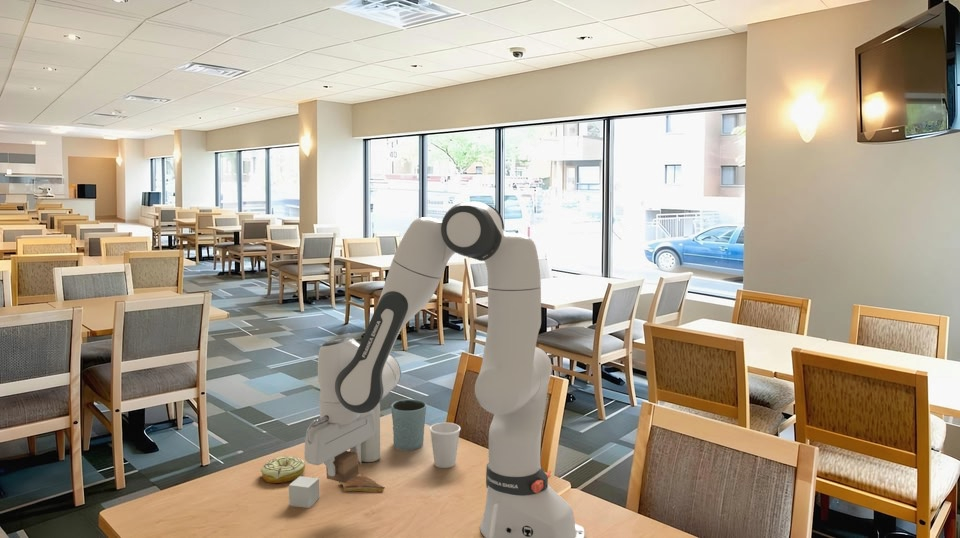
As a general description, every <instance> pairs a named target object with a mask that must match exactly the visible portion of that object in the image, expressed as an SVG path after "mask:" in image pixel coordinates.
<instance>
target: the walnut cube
mask: <svg viewBox="0 0 960 538" xmlns="http://www.w3.org/2000/svg"><path fill="white" fill-rule="evenodd" d="M334 458H335V461H334V462H333V464H334V466H337V467H338V474H336V475H334V476H329V475H328V469H327V467H326V466H325V467H326V479H327V480H329V481H330V480H331V481H336V482H338V483H339V482H343V483H345V482H347V481H348V480H350V479H352V478H353V477H355V476H357V475H360V474H359V473H360V472H359V470H360V469H359V461H358V453H355V452H350V450H347V451H345V452H343V453H341V454H339V455H337V456H335V457H334Z"/></svg>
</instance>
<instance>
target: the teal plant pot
mask: <svg viewBox="0 0 960 538" xmlns="http://www.w3.org/2000/svg"><path fill="white" fill-rule="evenodd" d="M390 406H391V407H390V408H391V418H392V431H393V432H392V434H393V437H392V438H393V439H392V440H393V442H392V443H393V447H395V449H398V450H401V451H413V450H418V449H421V448H422V447H423V445H424V438H425V437H424V435H425V425H426V413H427V402H425V401H423V400H419V399H415V398H414V399H412V398H411V399H410V398H409V399H400V400H396V401H394V402H392V403H391V405H390Z"/></svg>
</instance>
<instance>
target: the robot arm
mask: <svg viewBox="0 0 960 538" xmlns="http://www.w3.org/2000/svg"><path fill="white" fill-rule="evenodd" d="M455 254H458V255H460V256H463V257H466V258H467V257H468V258H471V259H474V260H477V261H480V262H484V263H485V265H486V266H485V267H486V272H487V274H486V275H487V331H486V338H485V343H484V349H483V354H482V355H483V356H482V362H481V365H480V370H479V373H478V376H477V378H476V381H475V384H474V394H475V398H476V400H477V402H478V404H479V405H480V406H481V408H483V410H485V411H486V412H488V413H490V414H492V415H493V417H492V420H491V423H490V426H489V429H488V430H489V431H488V463H487V464H486V470H485V471H486V472H485V478H486V479H485V480H486V481H485V484H486V485H485V486H486V487H485V488H486V489H487V491H486V500H485V506H484V512H483V516H482V518H481V523H480V525H479V530H480V532H481V534H482V536H484V538H586V531H585V528H584V527H583V526H582V525H579V524H577V523H576V521H575V516H574V511H573V508H572V506H571V505H570V503H568V502H567V501H566V500H565V499H564V498H563V497H562V496H560V494H558V493H557V492H556V491H555V490H554V489H553V488H552V487H551V486H550V485H549V478H551V475H552V474H551V473H552V471H551V470H548V472H547V473H546V472H545V471H544V469H543V468H542V465H541V446H542V443H541V442H542V441H541V440H542V429H543V428H542V426H543V422H544V421H543V420H544V414H545V410H546V405H547V396H548V391H549V390H548V388H549V384H550V383H549V382H550V378H551V376H552V371H553V366H552V360H551V359H550V357H549V355H548V354H547V353H546V351H544V350H543V349H542V348H540V347H537V341H538V336H539V332H540V329H541V325H542V290H541V289H542V288H541V284H542V283H541V281H542V280H541V269H540V261H539V256H538V250H537V246H536V243H535V242H534V241H533V239H531V238H530V237H529V236H527V235H525V234H521V233H513V232H512V233H510V232H507V231H506V230H505V224H504V220H503V216H502V215H501V214H500V212H499V211H498V210H497V209H496V208H495V207H493V206H492V205H490V204H486V203H484V202H481V201H478V200H477V201H476V200H475V201H474V200H473V201H464V202H460V203H457V204H455V205H453V206H452V207H450V208H449V209H448V210H447V212H445V214H444V216H443V218H442V220H440V219H437V218H435V217H429V216H424V217H418V218H416V219H414V220H413V221H412V222H411V224H409V226H408V228H407V229H406V230H405V232H404V234H403V237H402V238H401V240H400V243H399V244H398V247H397V249H396V250H395V254H394V255H393V258H392V261H391V264H390V266H389V269H388V272H387V276H386V278H385V281H384V285H383V288H382V290H381V293H380V297H379V299H378V301H377V305H376V307H375V310H374V312H373V314H372V316H371V319H370V321H369V323H368V326H367V328H366V330H365V333H364V334H363V337H362V339H361V341H360V343H359V342H357V340H356V339H355V338H353V337H349V336H347V337H346V336H345V337H344V336H343V337H339V338H334V339H331V340H328V341H325V343H323V344H322V345H321V346H320V348H319V350H318V356H317V357H318V358H317V381H318V384H319V388H320V390H319V391H320V392H319V395H318V401H319V402H318V403H319V404H318V405H319V418H318V419H315V420H312V421H311V422H310V424H309V426H308V428H307V429H306V434H305V440H304V453H303V454H304V457H303V458H304V462H305V463H307V464H310V465H314V466H320V465H321V464H324V465H325V467H327V469H328V475H329V476H334V475H336V474H338V467H337V466H334V464H333V462H334V461H335V458H334V457H335V456H337V455H339V454H341V453H343V452H345V451H350V452H355V453H358V452H359V449H360V443H362V442H364V441H366V440H368V439H370V438H372V437H373V435H374V433H375V415H374V411H373V410H372V409H374V408H375V407H376V406H377V404H378V403H379V402H380V403H381V401H382V400H383V399H384V398H385V397H386V396H388V395H389V393H390V392H391V391H393V390H394V389H395V388H396V386H398V384H399V382H400V380H401V367H400V364H399V362H398V360H397V359H396V358H395V357H394V356H393V355H391V353H392V350H393V347H394V345H395V344H396V343H395V342H396V341H397V338H398V336H399V334H400V333H401V331H402V330H403V328H404V327H405V326H406V324H407V323H408V322H409V321H410V320H411V319H412V318H413V317H414V316H416V314H418V313H419V312H420V311H421V310H422V309H424V308H425V307H426V306H427V304H428V303H429V302H430V301H431V299H432V297H433V296H434V294H435V293H436V291H437V288H438V287H439V284H440V282H441V279H442V276H443V274H444V271H445V269H446V266H447V264H448V262H449V260H450V259H451V258H452V256H453V255H455Z"/></svg>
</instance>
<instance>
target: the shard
mask: <svg viewBox="0 0 960 538" xmlns="http://www.w3.org/2000/svg"><path fill="white" fill-rule="evenodd" d="M338 483H340V485H342V486H343V489H342V490H343V492H352V491H353V492H355V491H356V492H373V493H374V492H384V491H385V488H386V487H385V486H383V485H381V484H379V483H378V482H376V481H375V480H373V479H371V478H369V476H366V475H363V474H358V475H357V476H355V477H353V478H352V479H350V480H348V481H347V482H345V483H343V482H338Z"/></svg>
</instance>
